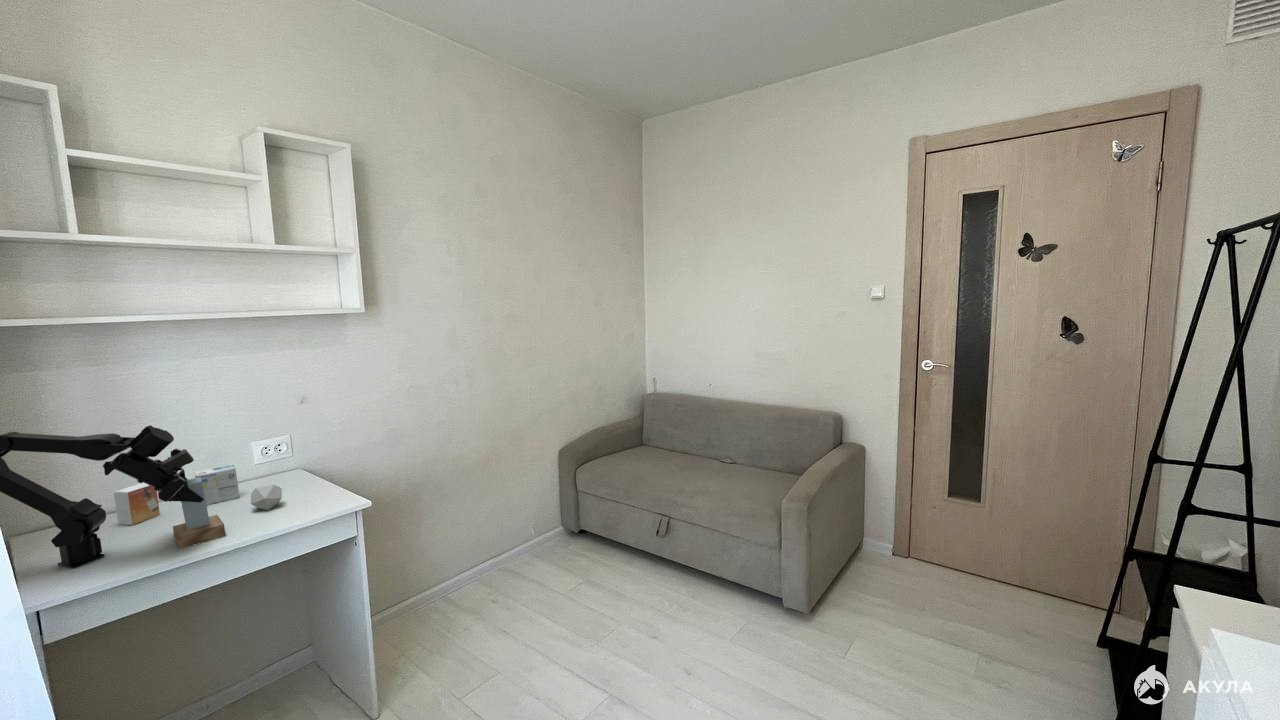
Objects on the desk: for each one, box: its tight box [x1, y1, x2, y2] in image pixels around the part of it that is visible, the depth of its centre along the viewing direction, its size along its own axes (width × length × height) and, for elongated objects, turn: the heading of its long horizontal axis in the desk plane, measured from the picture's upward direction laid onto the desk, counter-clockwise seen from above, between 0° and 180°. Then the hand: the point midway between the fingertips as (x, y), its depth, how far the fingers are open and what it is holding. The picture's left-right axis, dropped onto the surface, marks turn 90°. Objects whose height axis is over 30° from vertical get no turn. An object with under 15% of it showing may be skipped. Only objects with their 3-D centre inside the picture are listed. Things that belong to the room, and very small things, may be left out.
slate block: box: [180, 477, 210, 531], centre depth 148 cm, size 5×5×13 cm
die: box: [250, 481, 283, 511], centre depth 169 cm, size 8×9×10 cm
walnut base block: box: [172, 514, 227, 550], centre depth 149 cm, size 10×10×4 cm
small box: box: [113, 482, 161, 526], centre depth 161 cm, size 8×6×10 cm
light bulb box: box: [194, 463, 240, 506], centre depth 176 cm, size 11×7×11 cm, turn 135°
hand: (201, 496), depth 149 cm, fingers open, 9 cm apart
